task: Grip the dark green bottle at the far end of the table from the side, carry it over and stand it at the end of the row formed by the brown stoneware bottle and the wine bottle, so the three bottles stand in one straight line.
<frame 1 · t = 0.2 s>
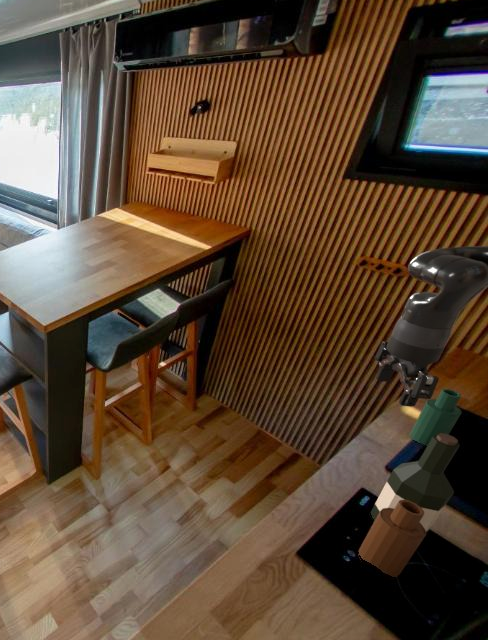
hand: (393, 392, 86), 28 cm above the worktop, tool pointing down, fingers open, 8 cm apart
wine bottle: (395, 526, 85), on the worktop
green bottle: (425, 440, 102), on the worktop
brown bottle: (378, 562, 80), on the worktop
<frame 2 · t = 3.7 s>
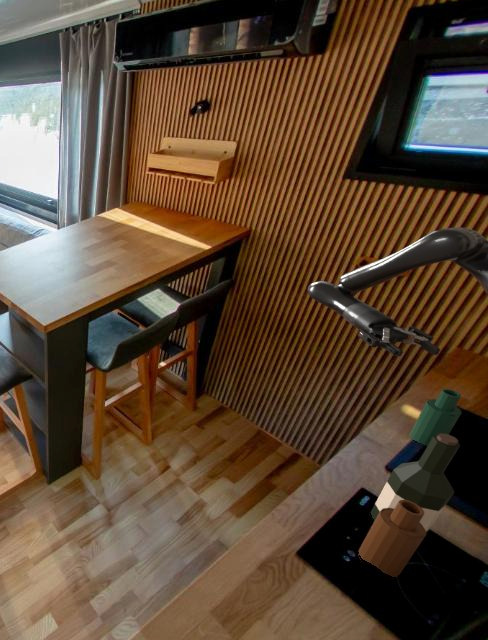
hand: (418, 353, 101), 24 cm above the worktop, tool horizontal, fingers open, 8 cm apart
nothing on the worktop moved.
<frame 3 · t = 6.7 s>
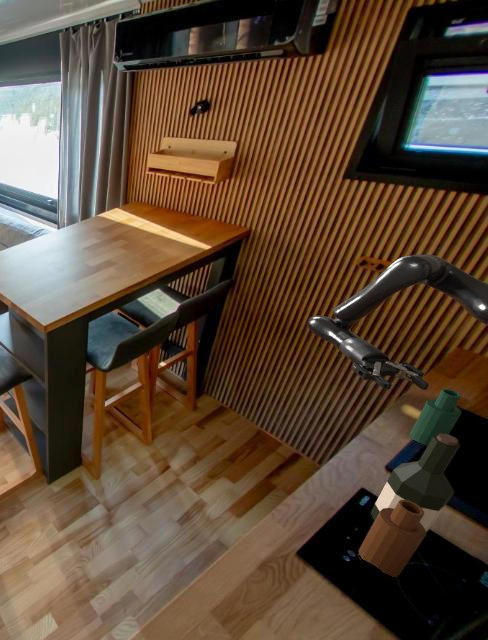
hand: (407, 387, 105), 11 cm above the worktop, tool horizontal, fingers open, 8 cm apart
nothing on the worktop moved.
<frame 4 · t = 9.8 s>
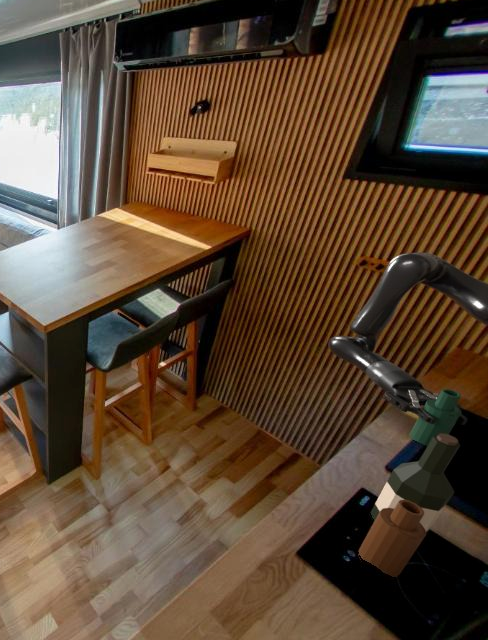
hand: (448, 421, 95), 10 cm above the worktop, tool horizontal, fingers closed on green bottle, 5 cm apart
green bottle: (425, 440, 102), on the worktop, touching gripper
everything else where it was.
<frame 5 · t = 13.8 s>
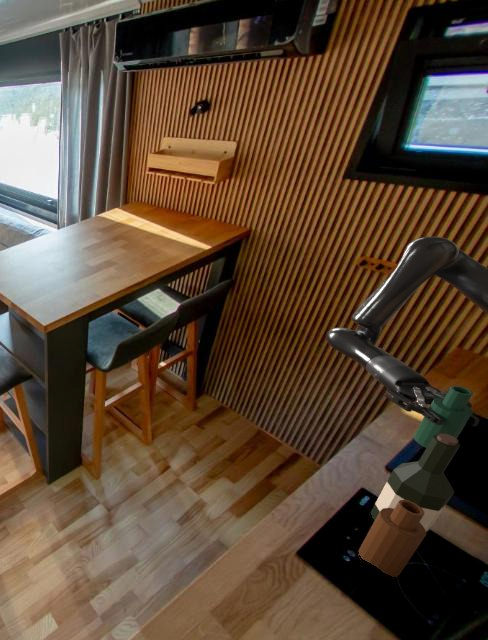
hand: (458, 422, 85), 20 cm above the worktop, tool horizontal, fingers closed on green bottle, 5 cm apart
green bottle: (431, 442, 91), point 10 cm above the worktop, touching gripper
everything else where it was.
when the fingers open (10 cm above the worktop, at t = 18.3 s): green bottle stays where it is, on the worktop.
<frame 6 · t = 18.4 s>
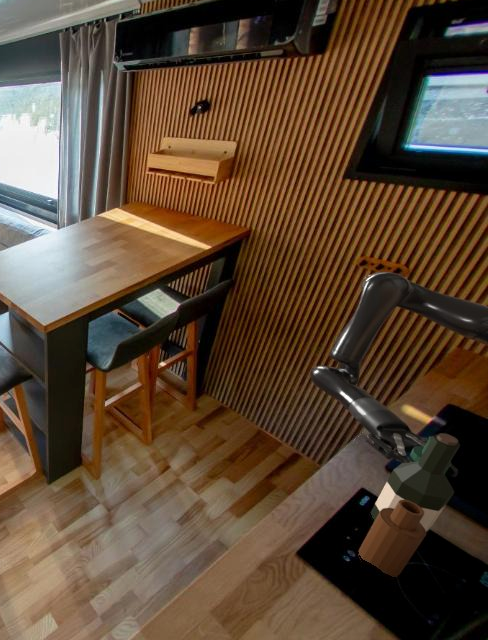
hand: (437, 473, 85), 10 cm above the worktop, tool horizontal, fingers open, 6 cm apart
green bottle: (411, 490, 91), on the worktop
everything else where it was.
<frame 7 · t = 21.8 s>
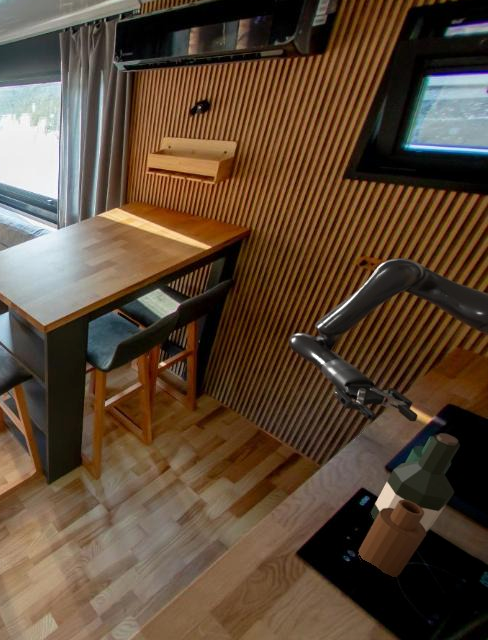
hand: (394, 418, 95), 14 cm above the worktop, tool horizontal, fingers open, 8 cm apart
nothing on the worktop moved.
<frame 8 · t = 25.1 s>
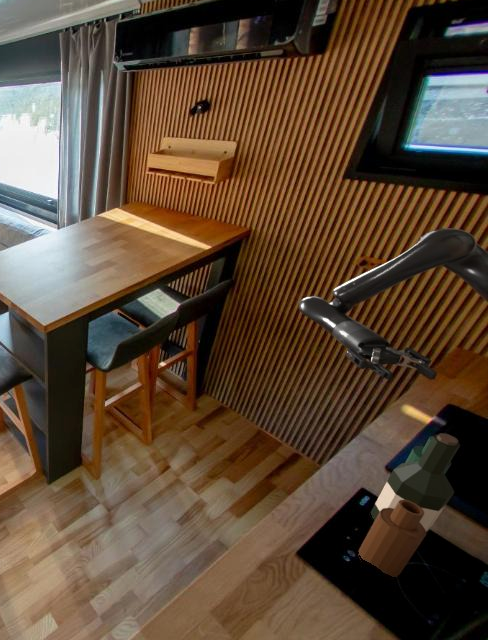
hand: (412, 376, 89), 28 cm above the worktop, tool horizontal, fingers open, 8 cm apart
nothing on the worktop moved.
at the end: green bottle tilted 0°; green bottle 0.1 cm from the target spot on the worktop beside the wine bottle, on the worktop; green bottle 0.1 cm from the target spot on the worktop beside the brown bottle, on the worktop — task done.
